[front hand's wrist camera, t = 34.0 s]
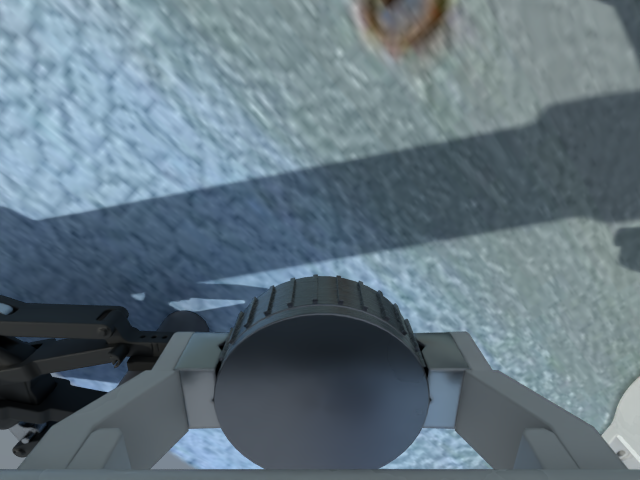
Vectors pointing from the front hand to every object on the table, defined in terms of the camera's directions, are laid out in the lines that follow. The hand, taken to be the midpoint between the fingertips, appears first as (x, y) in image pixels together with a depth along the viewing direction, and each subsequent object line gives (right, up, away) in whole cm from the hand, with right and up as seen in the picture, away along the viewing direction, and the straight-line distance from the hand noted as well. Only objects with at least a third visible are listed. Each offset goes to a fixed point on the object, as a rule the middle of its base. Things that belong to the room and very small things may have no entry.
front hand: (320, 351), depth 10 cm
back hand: (-7, -8, +18) cm, 21 cm away
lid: (0, -1, -2) cm, 2 cm away
